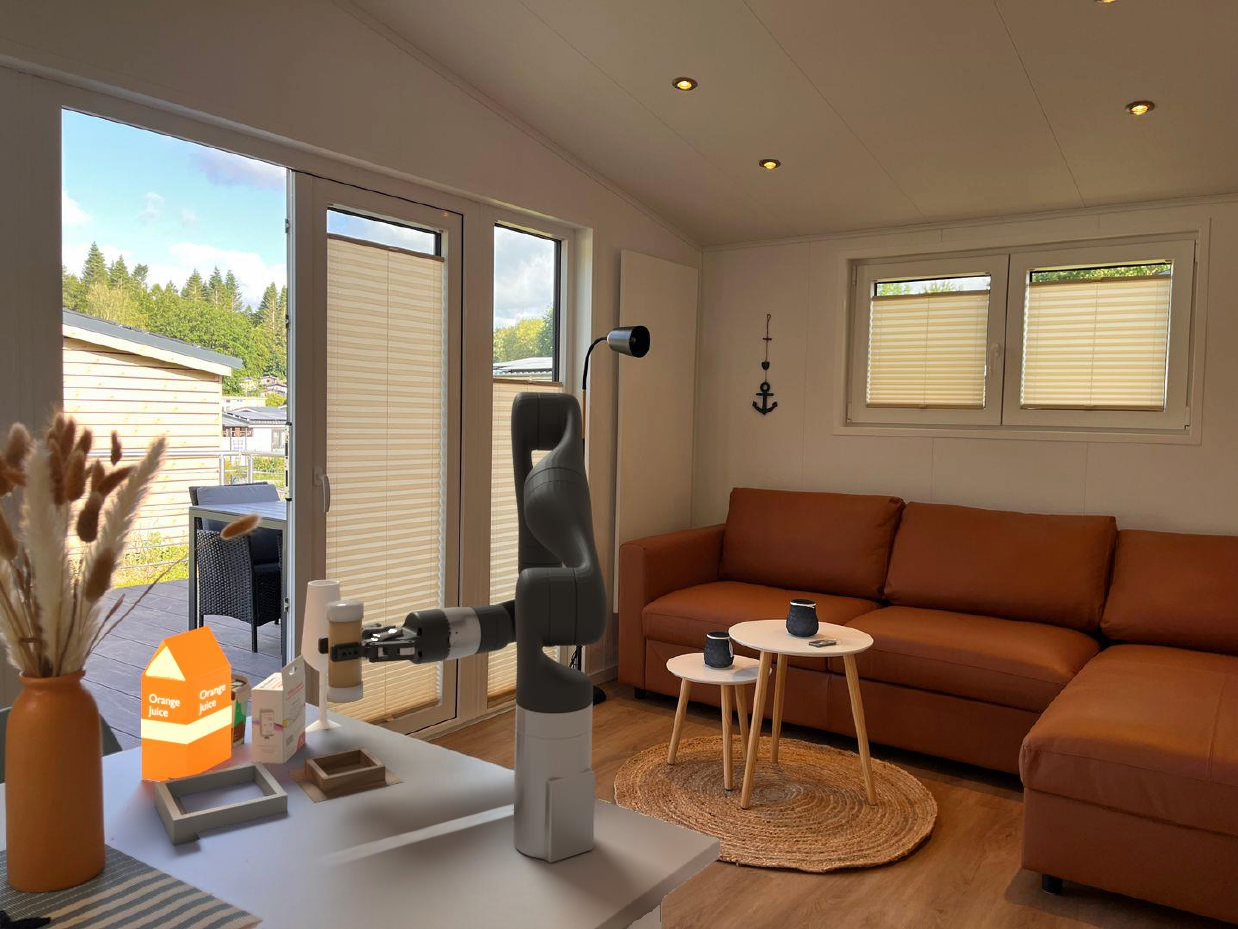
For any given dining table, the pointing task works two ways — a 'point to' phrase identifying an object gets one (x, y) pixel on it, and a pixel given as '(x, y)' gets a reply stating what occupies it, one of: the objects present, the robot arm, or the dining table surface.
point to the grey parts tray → (188, 825)
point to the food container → (239, 707)
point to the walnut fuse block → (342, 774)
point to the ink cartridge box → (279, 714)
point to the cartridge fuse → (342, 629)
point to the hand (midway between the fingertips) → (325, 649)
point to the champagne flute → (312, 631)
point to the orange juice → (185, 707)
